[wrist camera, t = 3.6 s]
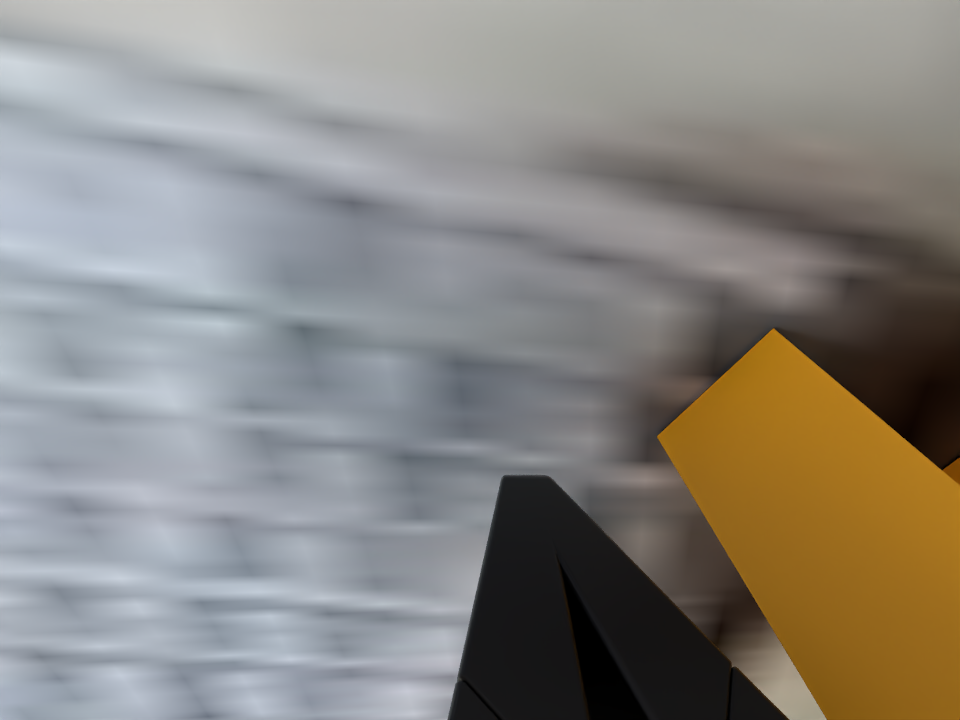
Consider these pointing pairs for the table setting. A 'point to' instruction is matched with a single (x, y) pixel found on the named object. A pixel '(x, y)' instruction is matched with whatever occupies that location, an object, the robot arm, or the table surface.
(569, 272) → the table surface
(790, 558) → the pipe clamp
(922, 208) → the table surface
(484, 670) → the robot arm
